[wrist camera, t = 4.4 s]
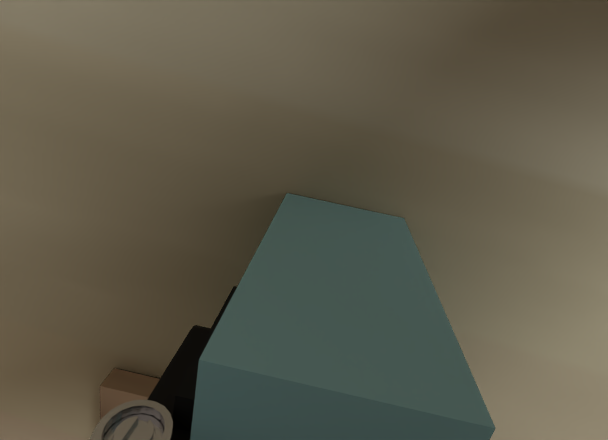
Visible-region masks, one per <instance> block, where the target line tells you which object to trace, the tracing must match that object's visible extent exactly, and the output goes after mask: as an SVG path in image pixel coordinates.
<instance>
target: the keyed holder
mask: <svg viewBox="0 0 608 440" xmlns="http://www.w3.org/2000/svg"><path fill="white" fill-rule="evenodd" d="M159 380H160V379H158V378H154V377H150V376H145V375H141V374H137V373H132V372H128V371H124V370H120V369H115V368H114V369H113V370H112V372H111V373H110V374H109V375H108V377H107V378H106V379H105V380H104V381H103V383H102V384H101V385H100V420H101V419H102V417H104V416H105V415H106V414H107V413H108V412H109V411H110V410H112V409H113V408H115V407H117V406H119V405H121V404H123V403H126V402H130V401H133V400H147V399H148V398H149V396H150V394H151V393H152V391H153V390H154V388H155V386H156V385H157V383H158V381H159Z"/></svg>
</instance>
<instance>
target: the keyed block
mask: <svg viewBox="0 0 608 440" xmlns="http://www.w3.org/2000/svg"><path fill="white" fill-rule="evenodd" d="M494 430H495V426H494V424H493V421H492V419H491V417H490V415H489V412H488V410H487V408H486V405H485V403H484V401H483V399H482V396H481V394H480V392H479V389H478V387H477V385H476V382H475V380H474V378H473V376H472V373H471V371H470V369H469V366H468V364H467V362H466V359H465V357H464V355H463V353H462V350H461V348H460V346H459V343H458V341H457V339H456V337H455V334H454V332H453V330H452V327H451V325H450V323H449V320H448V318H447V316H446V314H445V311H444V309H443V307H442V304H441V302H440V300H439V298H438V295H437V293H436V291H435V288H434V286H433V284H432V281H431V279H430V277H429V275H428V272H427V270H426V268H425V265H424V263H423V261H422V259H421V256H420V254H419V252H418V249H417V247H416V245H415V242H414V240H413V238H412V236H411V233H410V231H409V229H408V226H407V224H406V222H405V220H404V218H401V217H396V216H391V215H387V214H382V213H377V212H373V211H368V210H364V209H359V208H354V207H350V206H345V205H340V204H336V203H331V202H327V201H322V200H317V199H313V198H308V197H303V196H299V195H294V194H290V193H287V194H286V196H285V198H284V199H283V201H282V203H281V205H280V207H279V209H278V211H277V213H276V215H275V216H274V218H273V220H272V222H271V224H270V226H269V228H268V230H267V232H266V234H265V235H264V237H263V239H262V241H261V243H260V245H259V247H258V249H257V251H256V252H255V254H254V256H253V258H252V260H251V262H250V264H249V266H248V268H247V270H246V271H245V273H244V275H243V277H242V279H241V281H240V283H239V285H238V287H237V288H236V290H235V292H234V294H233V296H232V298H231V300H230V302H229V304H228V306H227V307H226V309H225V311H224V313H223V315H222V317H221V319H220V321H219V323H218V324H217V326H216V328H215V330H214V332H213V334H212V336H211V338H210V340H209V342H208V343H207V345H206V347H205V349H204V351H203V353H202V355H201V357H200V359H199V364H198V373H197V382H196V391H195V400H194V409H193V418H192V427H191V436H190V440H490V438H491V436H492V434H493V432H494Z"/></svg>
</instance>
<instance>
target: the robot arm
mask: <svg viewBox="0 0 608 440" xmlns="http://www.w3.org/2000/svg"><path fill="white" fill-rule="evenodd" d="M236 288H237V287H236V286H234V287H233V289H232V291H231V293H230V294H229V296H228V298H227V300H226V302H225V304H224V306H223V307H222V309H221V311H220V313H219V315H218V317H217V318H216V320H215V322H214V324H213V326H212V328H211V329H210V328H206V327H201V326H197V325H195V326H193V328H192V329H191V330H190V332H189V333H188V335H187V337H186V338H185V340H184V341H183V343H182V345H181V346H180V348H179V349H178V351H177V353H176V354H175V356H174V357H173V359H172V361H171V362H170V364H169V365H168V367H167V369H166V370H165V372H164V373H163V375H162V377H161V378H160V380H159V381H158V383H157V385H156V386H155V388H154V390H153V391H152V393H151V394H150V396H149V398H148V399H147V400H133V401H130V402H126V403H123V404H121V405H119V406H117V407H115V408H113V409H112V410H110V411H109V412H108V413H107V414H106V415H105V416H104V417H102V419H101V420H100V422H99V423H98V424H97V426H96V427H95V429H94V431H93V433H92V435H91V437H90V439H89V440H190V436H191V427H192V418H193V409H194V400H195V391H196V382H197V373H198V364H199V359H200V357H201V355H202V353H203V351H204V349H205V347H206V345H207V343H208V342H209V340H210V338H211V336H212V334H213V332H214V330H215V328H216V326H217V324H218V323H219V321H220V319H221V317H222V315H223V313H224V311H225V309H226V307H227V306H228V304H229V302H230V300H231V298H232V296H233V294H234V292H235V290H236Z"/></svg>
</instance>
